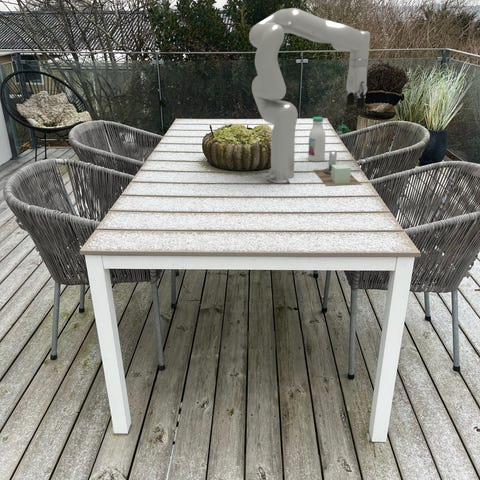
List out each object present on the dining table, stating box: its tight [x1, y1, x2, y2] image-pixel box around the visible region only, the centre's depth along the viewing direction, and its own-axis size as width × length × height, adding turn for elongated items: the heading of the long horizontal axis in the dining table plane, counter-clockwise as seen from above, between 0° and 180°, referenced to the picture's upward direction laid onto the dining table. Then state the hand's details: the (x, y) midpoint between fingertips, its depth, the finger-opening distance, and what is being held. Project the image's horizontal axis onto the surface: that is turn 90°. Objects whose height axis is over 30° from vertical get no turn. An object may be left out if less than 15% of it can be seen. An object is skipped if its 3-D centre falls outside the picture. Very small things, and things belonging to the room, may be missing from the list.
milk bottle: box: [308, 116, 326, 162], centre depth 221 cm, size 8×8×20 cm
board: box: [312, 150, 362, 187], centre depth 191 cm, size 24×14×10 cm, turn 4°
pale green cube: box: [331, 163, 352, 184], centre depth 185 cm, size 6×6×6 cm
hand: (355, 106), depth 201 cm, fingers open, 9 cm apart
